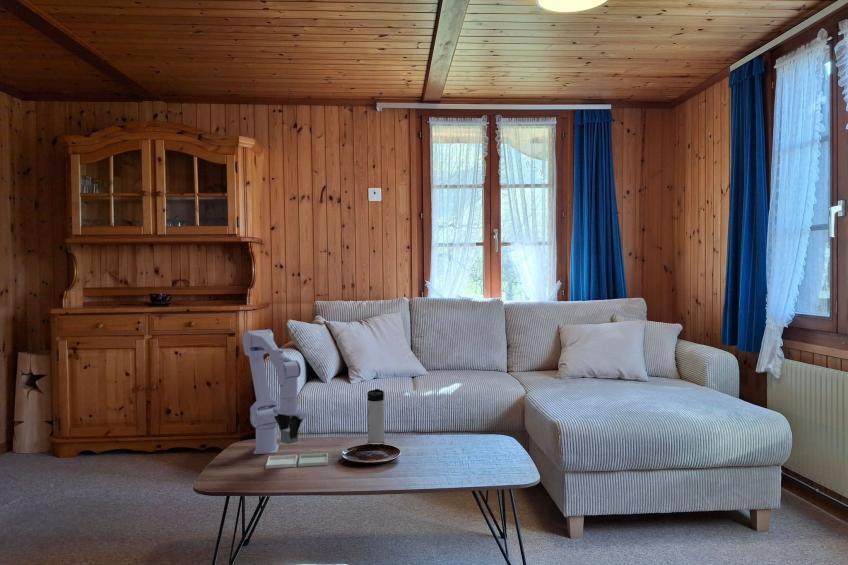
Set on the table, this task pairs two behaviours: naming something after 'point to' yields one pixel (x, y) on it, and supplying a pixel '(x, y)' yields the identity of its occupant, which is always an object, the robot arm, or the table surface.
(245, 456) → the table surface
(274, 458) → the tray
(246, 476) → the table surface
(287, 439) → the letter cube
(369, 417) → the travel mug
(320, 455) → the tray
